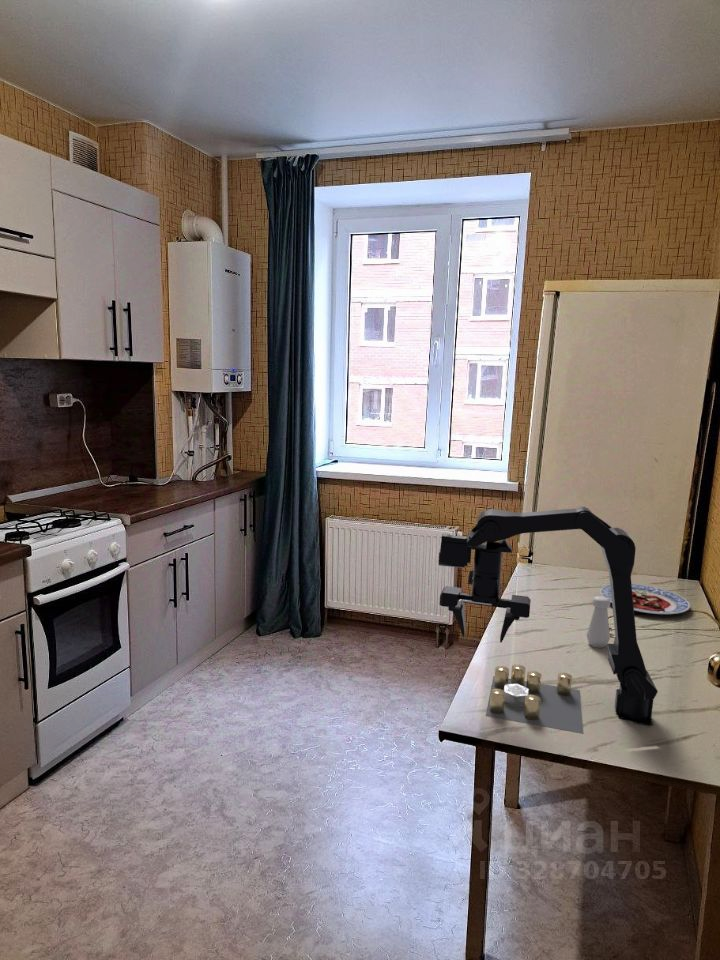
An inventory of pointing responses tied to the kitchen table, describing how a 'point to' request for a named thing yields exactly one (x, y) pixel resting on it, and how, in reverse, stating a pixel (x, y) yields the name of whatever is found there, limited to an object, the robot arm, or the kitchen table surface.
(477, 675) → the kitchen table surface
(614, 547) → the robot arm
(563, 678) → the brass spacers
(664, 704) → the kitchen table surface
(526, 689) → the clear faceted crystal
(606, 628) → the salt shaker
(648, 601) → the ceramic plate
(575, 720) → the mat
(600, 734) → the kitchen table surface
